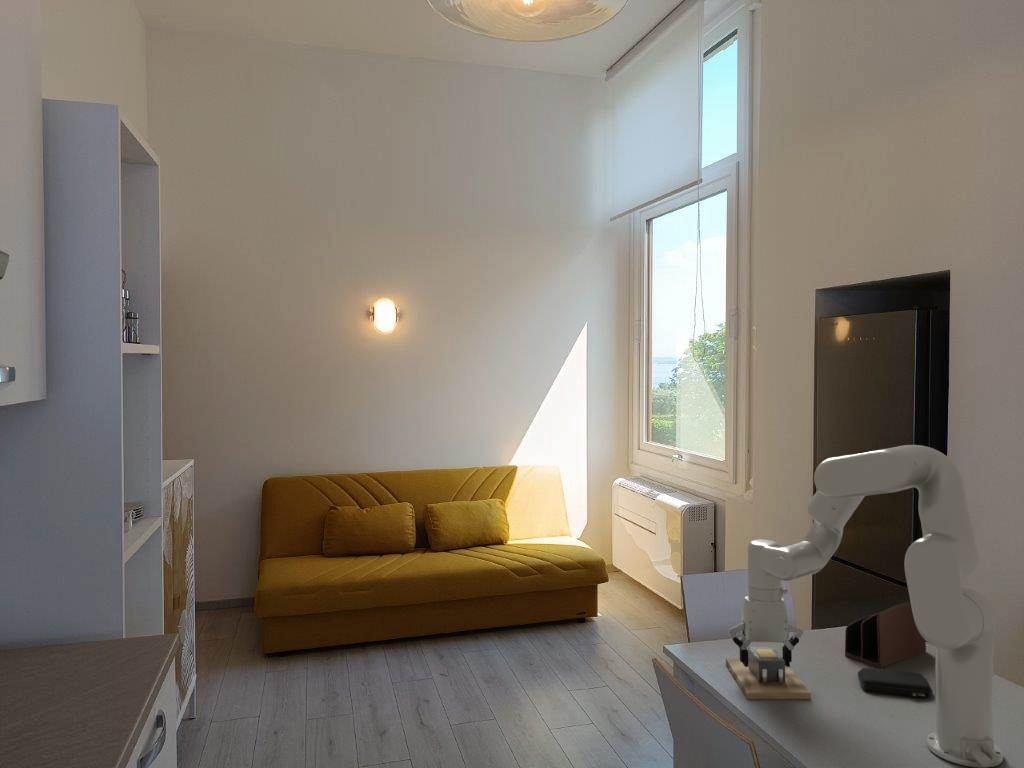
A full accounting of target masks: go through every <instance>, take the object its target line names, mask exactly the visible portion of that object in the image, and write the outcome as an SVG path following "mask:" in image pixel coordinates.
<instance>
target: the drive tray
mask: <svg viewBox="0 0 1024 768" xmlns="http://www.w3.org/2000/svg"><path fill="white" fill-rule="evenodd" d="M726 664H727V665H726ZM725 665H726V667H727V666H728V667H727V668H729V669H730V670H729V669H728V670H729V671H731V672H730V674H731V675H732V676H734V677H733V678H734V680H735V679H736V680H735V681H737V682H736V683H737V684H739V685H738V686H739V688H740V690H741V689H742V690H741V691H742V693H743V692H744V693H743V694H744V696H745V695H746V696H745V697H747V698H746V699H747V700H811V699H812V697H811V693H812V692H811V691H810V690H809V689H808V687H807V686H806V685H805V684H804V683H803V681H802V680H801V679H800V678H799V676H797V674H796V673H795V672H794V671H793V669H792V668H791V666H790V667H787V666H786V665H785V683H783V669H782V668H778V683H767V669H766V668H763V669H762V676H763V683H759V682H758V680H757V679H756V677H755V676H754V675H753V673H752V672H751V670H750V669H749V667H745V666H744V665H743V663H742V662H741V661H740V657H739V658H738V657H735V658H734V657H730V658H725Z"/></svg>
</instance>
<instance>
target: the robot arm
mask: <svg viewBox="0 0 1024 768" xmlns="http://www.w3.org/2000/svg"><path fill="white" fill-rule="evenodd" d="M813 478H814V479H813V481H814V484H815V487H816V489H817V490H816V492H815V493H814V494H813V496H812V498H810V500H809V502H808V504H807V506H806V507H807V508H806V509H807V513H808V514H809V516H810V518H812V519H813V522H812V525H811V527H810V528H809V530H808V531H807V533H806V534H805V536H804V537H803V539H802V540H800V542H797V543H794V544H790V545H787V546H781V544H780V543H778V542H777V541H775V540H770V539H754V540H751V541H749V543H748V545H747V595H748V596H747V595H746V596H744V600H743V604H742V612H741V622H740V623H738V624H737V623H736V624H735V625H733V626H731V627H730V628H728V629H727V632H728V634H729V635H730V638H731V639H732V641H733V643H734V644H735V645H736V646H737V647H738V648H739V658H740V661H741V662H742V663H743V665H744V666H745V667H748V647H750V644H751V643H757V644H758V643H783V645H782V647H781V648H782V650H781V651H782V658H783V659H784V660H785V665H786V666H787V667H790V668H791V666H790V665H791V663H792V660H793V659H792V657H793V656H792V650H794V647H796V645H797V644H799V642H800V639H801V637H802V635H803V634H804V631H803V630H802V629H801V628H800V627H798V626H796V625H795V624H792V623H790V622H789V619H788V611H787V606H786V601H785V599H784V597H783V596H784V595H787V594H788V593H789V590H788V588H787V587H783V586H782V584H783V583H782V581H783V582H793V581H797V580H800V579H803V578H806V577H809V576H811V575H814V574H817V573H818V572H820V571H821V570H822V569H823V568H824V567H825V566H826V565H827V564H828V562H829V561H830V560H831V558H832V557H833V555H834V554H835V553H836V551H837V550H838V548H839V546H840V544H841V541H842V538H843V534H844V527H845V526H846V524H847V522H848V521H849V520H850V518H851V517H852V516H853V514H854V512H855V511H856V510H857V508H858V506H859V505H860V504H861V502H862V501H863V499H864V498H865V497H866V496H874V495H881V494H889V493H891V494H892V493H896V492H900V491H901V492H902V491H904V490H909V489H912V488H915V489H917V490H918V504H917V506H918V507H917V508H918V516H919V521H920V523H921V524H920V525H921V531H922V537H920V538H918V539H916V540H915V541H913V542H912V543H911V544H910V546H908V548H907V550H906V552H905V555H904V564H903V565H904V568H903V569H904V574H905V581H906V585H907V589H908V594H909V602H911V607H912V612H913V617H914V621H915V624H916V626H917V629H918V631H919V632H920V634H921V635H922V637H923V638H924V639H925V640H926V643H928V644H929V645H931V646H932V647H935V654H934V655H935V657H934V659H935V661H934V662H935V663H934V668H935V669H934V671H935V672H934V676H935V677H934V678H935V679H934V681H935V683H934V685H935V687H934V688H935V690H934V692H935V694H934V699H935V700H934V704H935V709H934V710H935V713H934V714H935V730H934V731H932V732H931V733H929V734H928V735H927V736H926V746H927V747H928V749H929V750H930V751H931V752H932V753H934V754H935V755H936V756H938V757H939V758H941V759H944V760H945V761H948V762H950V763H953V764H956V765H960V766H964V767H971V768H994V767H997V766H999V765H1000V764H1002V762H1003V761H1004V752H1003V751H1002V749H1001V748H1000V747H999V746H998V745H997V744H996V743H995V740H994V653H995V649H994V648H995V643H996V642H995V641H996V636H997V635H996V634H997V625H998V623H997V622H998V616H997V610H996V607H995V604H994V603H993V601H992V600H991V598H990V597H989V596H988V594H985V593H984V592H983V591H982V590H980V589H978V588H976V587H972V586H971V585H970V586H969V585H963V584H962V581H964V580H966V579H968V578H969V577H971V576H973V574H975V573H976V572H977V570H978V567H979V565H980V561H979V559H980V558H979V552H978V548H977V544H976V538H975V534H974V529H973V525H972V519H971V515H970V512H969V511H970V510H969V507H968V504H967V503H968V502H967V496H966V492H965V486H964V482H963V478H962V475H961V472H960V470H959V469H958V467H957V466H956V464H955V463H954V462H953V460H952V459H950V458H949V457H948V456H947V455H945V454H944V453H943V452H941V451H939V450H937V449H935V448H933V447H929V446H925V445H920V444H919V445H918V444H905V445H899V446H894V447H888V448H882V449H878V450H872V451H867V452H862V453H855V454H844V455H839V456H833V457H828V458H826V459H825V460H822V462H820V464H818V466H817V467H816V469H815V472H814V475H813ZM789 631H792V632H793V635H792V636H791V637H790V635H789V634H790V632H789ZM739 632H741V635H742V637H741V638H739V637H738V636H737V634H738V633H739Z"/></svg>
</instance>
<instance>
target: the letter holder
mask: <svg viewBox="0 0 1024 768" xmlns="http://www.w3.org/2000/svg"><path fill="white" fill-rule="evenodd" d="M844 634H845V635H844V636H845V639H844V656H845V657H847V658H849V657H850V659H852V658H853V660H855V659H856V660H855V661H858V662H861V663H864V664H866V663H867V664H866V665H870V666H872V667H875V668H877V669H882V668H885V667H887V666H890V665H892V664H896V663H899V662H901V661H905V660H907V659H909V658H913V657H916V656H918V655H920V654H921V655H922V654H923V653H926V652H927V647H926V646H927V644H926V643H927V641H926V640H925V639H924V638H923V637H922V635H921V634H920V632H919V631H918V629H917V626H916V624H915V621H914V617H913V612H912V607H911V601H909V602H903V603H900V604H897V605H894V606H892V607H889V608H887V609H885V610H883V611H881V612H878V613H875V614H870V615H867V616H865V617H862V618H859V619H857V620H854V621H852V622H850V623H849V624H848V625H847V626H846V628H845V633H844Z"/></svg>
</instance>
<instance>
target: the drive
mask: <svg viewBox="0 0 1024 768" xmlns="http://www.w3.org/2000/svg"><path fill="white" fill-rule="evenodd" d="M747 650H748V667H749V669H750V670H751V672H752V673H753V675H754V676H755V677H756V679H757V680H758V682H759V683H763V676H762V669H763V668H766V669H767V683H778V668H782V669H783V683H785V660H784V659H783V656H782V655H780V653H779V652H778V651H777V650H776V648H775V647H774V646H748V647H747Z"/></svg>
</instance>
